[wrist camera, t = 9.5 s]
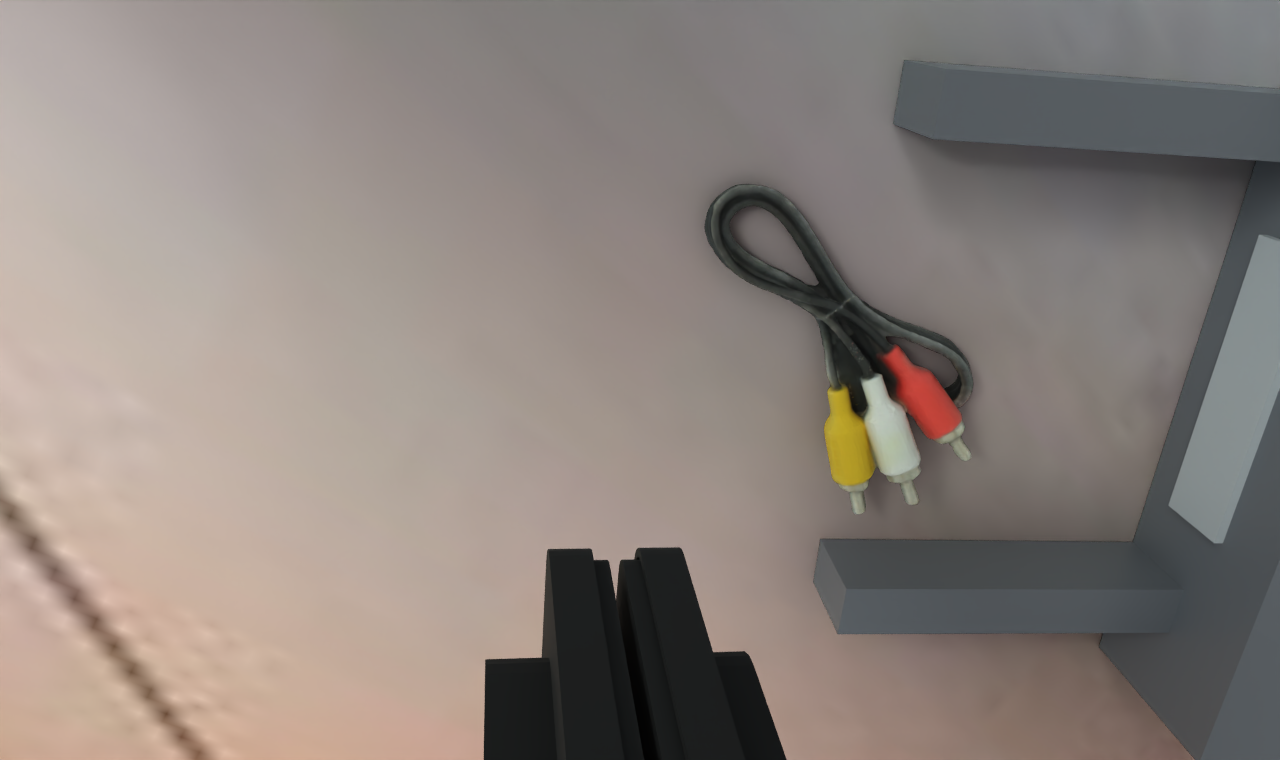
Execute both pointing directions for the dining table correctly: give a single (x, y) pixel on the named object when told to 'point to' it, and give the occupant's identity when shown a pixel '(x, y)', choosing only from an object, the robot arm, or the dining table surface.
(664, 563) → the robot arm
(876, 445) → the composite cable
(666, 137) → the dining table surface
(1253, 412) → the dock
